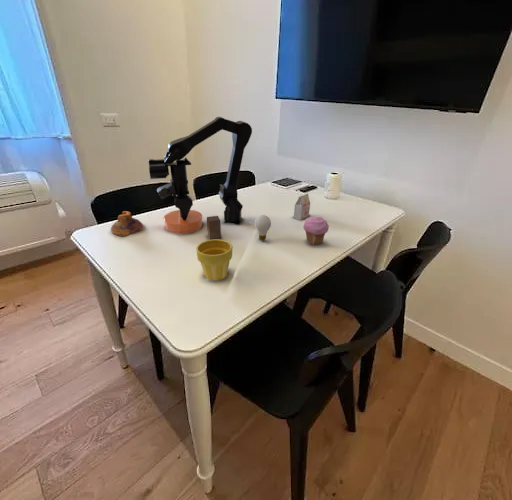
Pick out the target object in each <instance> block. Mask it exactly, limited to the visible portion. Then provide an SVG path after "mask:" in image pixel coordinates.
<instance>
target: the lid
mask: <svg viewBox="0 0 512 500" xmlns="http://www.w3.org/2000/svg"><path fill="white" fill-rule="evenodd" d="M201 219H203V214H202V213H201V212H200V211H198V210H195V209H190V211H189V213H188V216H187V219H186V220H183V218H182V215H181V212H180V209H177V210H173V211H170V212H168V213H166V214H165V215H164V216H163V221H164V223H165V222H166V223H168V224H172V225H189V224H193V223H196V222H198V221H200V220H201Z"/></svg>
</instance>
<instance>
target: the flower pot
mask: <svg viewBox="0 0 512 500" xmlns="http://www.w3.org/2000/svg"><path fill="white" fill-rule="evenodd" d="M195 251H196V258H197V261H198V262H199V263H200V266H201V268H202V271H203V274H204V276H205V278H206V279H208V280H211V281H219V280H222V279H225V278H226V277H227V275H228V271H229V266H230V261H231V260H232V259H233V245H232V244H231V242H229V241H228V240H224V239H213V240H210V239H207V240H204V241H201V242H200V243H198V244H197V246H196V250H195Z"/></svg>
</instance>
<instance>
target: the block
mask: <svg viewBox="0 0 512 500" xmlns="http://www.w3.org/2000/svg"><path fill="white" fill-rule="evenodd" d="M221 226H222V224H221V219H220V217H219V215H211V216H206V227H207V228H206V229H207V237H208V240H213V239H219V240H221V239H222V228H221Z"/></svg>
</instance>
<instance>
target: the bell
mask: <svg viewBox="0 0 512 500" xmlns="http://www.w3.org/2000/svg"><path fill="white" fill-rule="evenodd" d="M121 213H122V214H119V215H118V216H117V221H115V222H114V223H113V224H112V225H111V227H110V231H111V233H112V234H113V235H116V236H120V237H129V236H130V235H134V234H135V235H136V234H138V233H140V232H142V231H143V229H144V224H143V223H142V222H141V221H140V220H139V219H138V218H135V217H133V216H132V212H130V211H129V210H128V211H127V210H124V211H122V212H121Z"/></svg>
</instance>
